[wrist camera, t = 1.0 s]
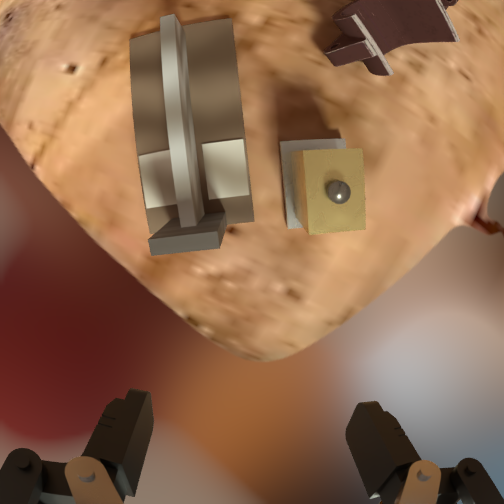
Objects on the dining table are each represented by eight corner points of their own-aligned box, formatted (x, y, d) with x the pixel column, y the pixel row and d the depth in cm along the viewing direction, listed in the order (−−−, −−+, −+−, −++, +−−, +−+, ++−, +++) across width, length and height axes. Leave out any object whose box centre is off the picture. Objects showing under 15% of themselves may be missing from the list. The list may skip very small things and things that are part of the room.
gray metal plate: (279, 141, 25) (280, 141, 24) (341, 139, 25) (345, 138, 24) (286, 226, 27) (287, 228, 27) (346, 220, 27) (349, 223, 26)
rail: (133, 42, 21) (98, 13, 13) (232, 22, 21) (226, -20, 13) (153, 231, 27) (121, 259, 20) (254, 219, 27) (256, 244, 20)
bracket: (303, 36, 19) (393, 11, 11) (380, -20, 19) (449, -34, 10) (342, 86, 23) (433, 85, 15) (407, 18, 22) (474, 14, 14)
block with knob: (290, 151, 24) (305, 150, 18) (337, 149, 24) (366, 148, 18) (295, 217, 26) (311, 237, 20) (341, 213, 26) (369, 232, 20)
